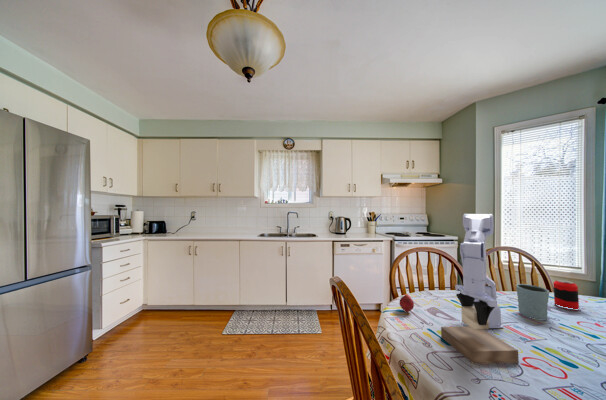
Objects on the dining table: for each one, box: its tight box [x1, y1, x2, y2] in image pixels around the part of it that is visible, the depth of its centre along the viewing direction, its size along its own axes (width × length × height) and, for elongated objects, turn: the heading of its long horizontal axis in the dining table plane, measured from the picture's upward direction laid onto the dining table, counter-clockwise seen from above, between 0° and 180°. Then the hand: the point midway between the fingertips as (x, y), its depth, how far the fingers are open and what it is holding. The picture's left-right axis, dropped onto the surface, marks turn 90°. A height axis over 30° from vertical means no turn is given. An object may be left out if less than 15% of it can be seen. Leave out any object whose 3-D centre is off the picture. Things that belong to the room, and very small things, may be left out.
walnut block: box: [440, 325, 520, 365], centre depth 73 cm, size 14×14×4 cm
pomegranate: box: [399, 293, 415, 313], centre depth 99 cm, size 6×6×8 cm
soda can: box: [552, 279, 580, 309], centre depth 106 cm, size 8×8×12 cm
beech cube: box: [461, 305, 490, 330], centre depth 73 cm, size 5×5×5 cm
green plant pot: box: [515, 283, 550, 320], centre depth 97 cm, size 10×10×12 cm
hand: (475, 320), depth 73 cm, fingers closed on beech cube, 5 cm apart
